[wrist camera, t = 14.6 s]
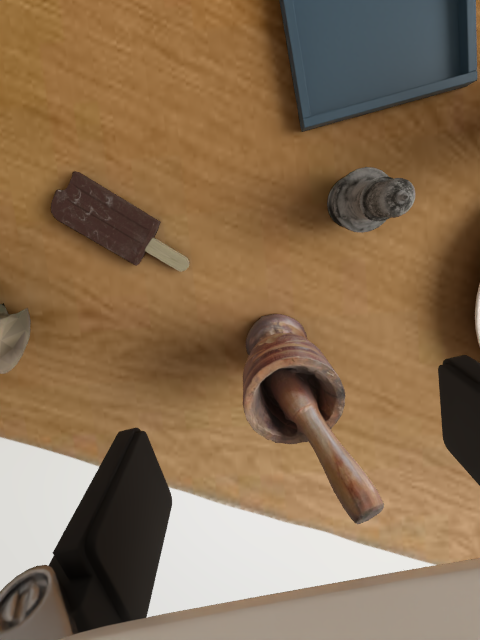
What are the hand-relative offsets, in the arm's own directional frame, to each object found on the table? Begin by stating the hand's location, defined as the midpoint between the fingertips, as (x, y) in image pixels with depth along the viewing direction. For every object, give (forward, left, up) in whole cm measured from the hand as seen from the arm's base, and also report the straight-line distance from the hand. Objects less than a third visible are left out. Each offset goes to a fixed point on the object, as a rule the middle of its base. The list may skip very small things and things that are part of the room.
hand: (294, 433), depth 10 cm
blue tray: (-19, +16, -28) cm, 38 cm away
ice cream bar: (-8, -12, -28) cm, 32 cm away
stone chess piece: (-5, +12, -28) cm, 31 cm away
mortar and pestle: (+10, +2, -28) cm, 30 cm away
